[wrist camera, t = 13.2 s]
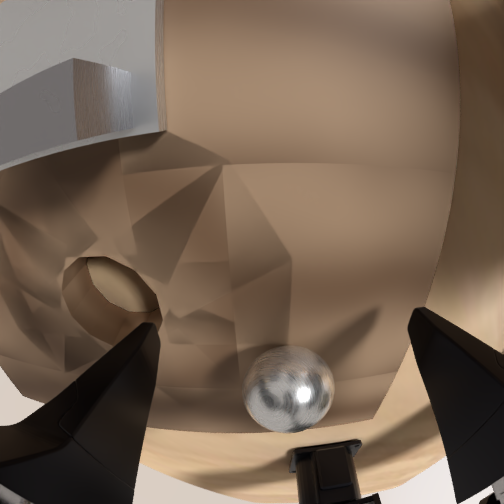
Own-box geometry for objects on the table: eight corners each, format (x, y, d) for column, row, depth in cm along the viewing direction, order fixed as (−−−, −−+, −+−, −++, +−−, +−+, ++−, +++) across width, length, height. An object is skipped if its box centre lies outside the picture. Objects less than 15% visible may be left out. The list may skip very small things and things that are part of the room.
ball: (258, 392, 12) (211, 413, 9) (286, 327, 12) (243, 333, 9) (322, 428, 10) (289, 463, 8) (358, 360, 10) (337, 382, 7)
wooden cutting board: (363, 389, 17) (372, 418, 15) (34, 374, 17) (23, 395, 15) (406, -39, 6) (432, -58, 3) (-52, 64, 6) (-78, 68, 3)
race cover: (167, 129, 7) (111, 145, 4) (5, 168, 7) (-62, 200, 4) (167, -60, 4) (133, -117, 1) (5, 11, 4) (-55, 3, 1)
